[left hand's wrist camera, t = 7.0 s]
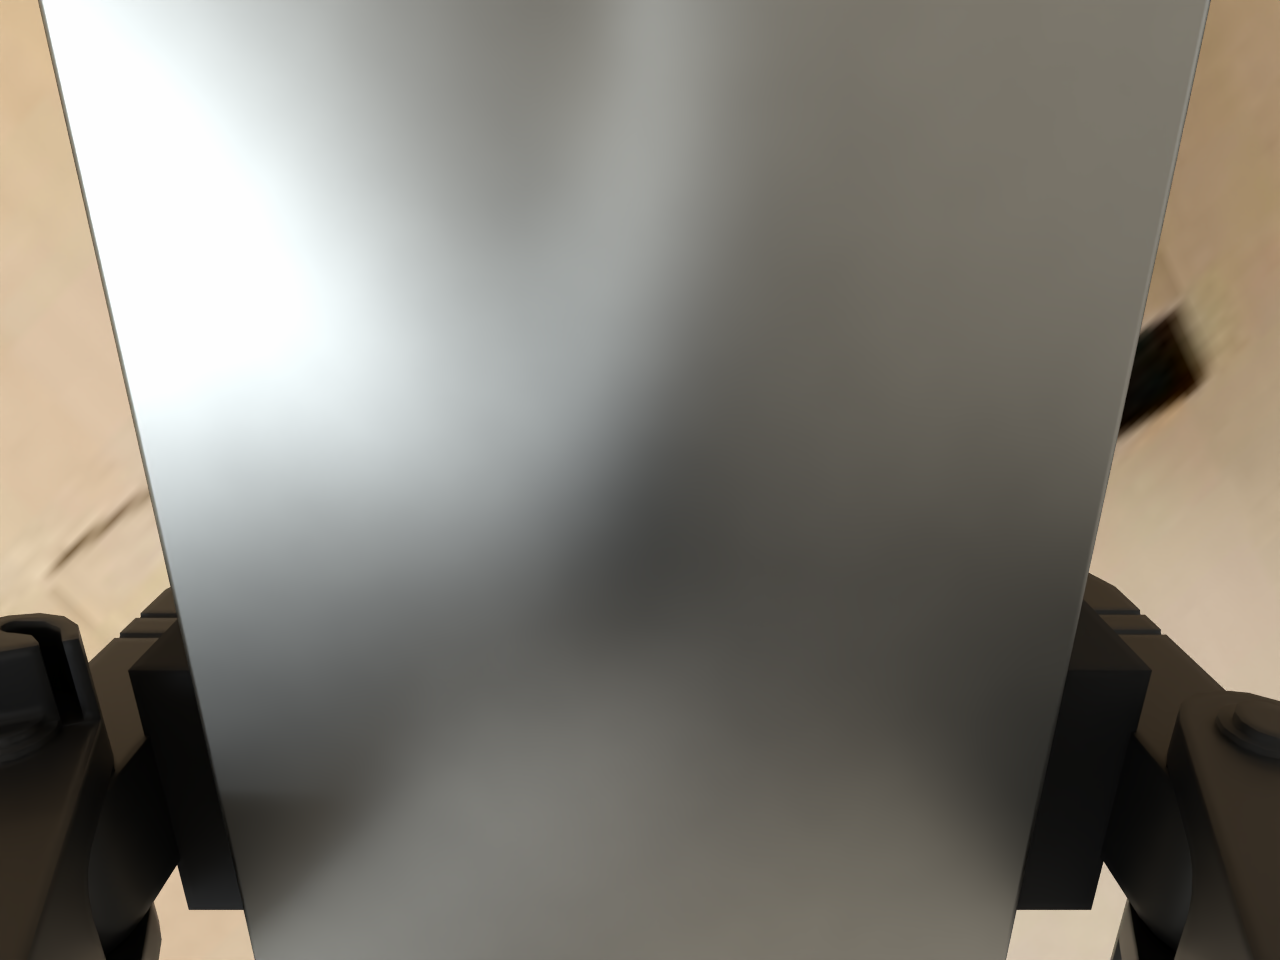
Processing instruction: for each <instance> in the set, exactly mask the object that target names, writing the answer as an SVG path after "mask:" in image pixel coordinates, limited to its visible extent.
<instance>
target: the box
mask: <svg viewBox="0 0 1280 960" xmlns="http://www.w3.org/2000/svg"><path fill="white" fill-rule="evenodd" d="M1210 1H1211V0H38V2H39V7H40V11H41V16H42V20H43V24H44V29H45V33H46V38H47V42H48V47H49V51H50V55H51V60H52V64H53V69H54V73H55V78H56V82H57V86H58V91H59V95H60V100H61V104H62V108H63V113H64V117H65V122H66V126H67V131H68V135H69V139H70V144H71V148H72V153H73V157H74V162H75V166H76V170H77V175H78V179H79V184H80V188H81V193H82V197H83V201H84V206H85V210H86V215H87V219H88V223H89V228H90V232H91V237H92V241H93V246H94V250H95V254H96V259H97V263H98V268H99V272H100V277H101V281H102V285H103V290H104V294H105V299H106V303H107V308H108V312H109V316H110V321H111V325H112V330H113V334H114V338H115V343H116V347H117V352H118V356H119V361H120V365H121V369H122V374H123V378H124V383H125V387H126V392H127V396H128V400H129V405H130V409H131V414H132V418H133V423H134V427H135V431H136V436H137V440H138V445H139V449H140V453H141V458H142V462H143V467H144V471H145V476H146V480H147V484H148V489H149V493H150V498H151V502H152V507H153V511H154V515H155V520H156V524H157V529H158V533H159V538H160V542H161V546H162V551H163V555H164V560H165V564H166V569H167V573H168V577H169V582H170V586H171V591H172V595H173V599H174V604H175V608H176V613H177V617H178V622H179V626H180V630H181V635H182V639H183V644H184V648H185V653H186V657H187V661H188V666H189V670H190V675H191V679H192V684H193V688H194V692H195V697H196V701H197V706H198V710H199V714H200V719H201V723H202V728H203V732H204V737H205V741H206V745H207V750H208V754H209V759H210V763H211V768H212V772H213V776H214V781H215V785H216V790H217V794H218V799H219V803H220V807H221V812H222V816H223V821H224V825H225V829H226V834H227V838H228V843H229V847H230V852H231V856H232V860H233V865H234V869H235V874H236V878H237V883H238V887H239V891H240V896H241V900H242V905H243V909H244V914H245V918H246V922H247V927H248V931H249V936H250V940H251V944H252V949H253V953H254V958H255V960H1006V957H1007V952H1008V947H1009V943H1010V938H1011V933H1012V929H1013V924H1014V919H1015V915H1016V910H1017V905H1018V901H1019V896H1020V891H1021V886H1022V882H1023V877H1024V872H1025V868H1026V863H1027V858H1028V854H1029V849H1030V844H1031V840H1032V835H1033V830H1034V826H1035V821H1036V816H1037V812H1038V807H1039V802H1040V798H1041V793H1042V788H1043V783H1044V779H1045V774H1046V769H1047V765H1048V760H1049V755H1050V751H1051V746H1052V741H1053V737H1054V732H1055V727H1056V723H1057V718H1058V713H1059V709H1060V704H1061V699H1062V694H1063V690H1064V685H1065V680H1066V676H1067V671H1068V666H1069V662H1070V657H1071V652H1072V648H1073V643H1074V638H1075V634H1076V629H1077V624H1078V620H1079V615H1080V610H1081V605H1082V601H1083V596H1084V591H1085V587H1086V582H1087V577H1088V573H1089V568H1090V563H1091V559H1092V554H1093V549H1094V545H1095V540H1096V535H1097V531H1098V526H1099V521H1100V516H1101V512H1102V507H1103V502H1104V498H1105V493H1106V488H1107V484H1108V479H1109V474H1110V470H1111V465H1112V460H1113V456H1114V451H1115V446H1116V442H1117V437H1118V432H1119V427H1120V423H1121V418H1122V413H1123V409H1124V404H1125V399H1126V395H1127V390H1128V385H1129V381H1130V376H1131V371H1132V367H1133V362H1134V357H1135V353H1136V348H1137V343H1138V338H1139V334H1140V329H1141V324H1142V320H1143V315H1144V310H1145V306H1146V301H1147V296H1148V292H1149V287H1150V282H1151V278H1152V273H1153V268H1154V264H1155V259H1156V254H1157V250H1158V245H1159V240H1160V235H1161V231H1162V226H1163V221H1164V217H1165V212H1166V207H1167V203H1168V198H1169V193H1170V189H1171V184H1172V179H1173V175H1174V170H1175V165H1176V161H1177V156H1178V151H1179V146H1180V142H1181V137H1182V132H1183V128H1184V123H1185V118H1186V114H1187V109H1188V104H1189V100H1190V95H1191V90H1192V86H1193V81H1194V76H1195V72H1196V67H1197V62H1198V57H1199V53H1200V48H1201V43H1202V39H1203V34H1204V29H1205V25H1206V20H1207V15H1208V11H1209V6H1210Z"/></svg>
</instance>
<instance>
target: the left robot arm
mask: <svg viewBox="0 0 1280 960" xmlns="http://www.w3.org/2000/svg"><path fill="white" fill-rule="evenodd" d="M1103 861H1104V862H1105V864H1106V866H1107V867H1108V869H1109V870H1110V872H1111V873H1112V875H1113V876H1114V878H1115V880H1116V881H1117V883H1118V884H1119V886H1120V887H1121V889H1122V890H1123V892H1124V894H1125V895H1126V897H1127V901H1126V905H1125V909H1124V912H1123V916H1122V920H1121V923H1120V927H1119V931H1118V934H1117V938H1116V942H1115V945H1114V949H1113V953H1112V956H1111V960H1280V701H1277V700H1273V699H1270V698H1266V697H1262V696H1258V695H1255V694H1251V693H1245V692H1235V691H1225V690H1224V689H1223V688H1222V687H1221V686H1220V685H1219V684H1218V683H1217V682H1216V681H1215V680H1214V679H1213V678H1212V677H1211V676H1210V675H1208V674H1207V673H1206V672H1205V671H1204V670H1203V669H1202V668H1201V667H1200V666H1199V665H1198V664H1197V663H1196V662H1195V661H1194V660H1193V659H1191V658H1190V657H1189V656H1188V655H1187V654H1186V653H1185V652H1184V651H1183V650H1182V649H1181V648H1180V647H1179V646H1178V645H1177V644H1176V643H1174V642H1173V641H1172V640H1171V639H1170V638H1169V637H1168V636H1167V635H1161V629H1160V628H1159V627H1157V626H1156V625H1155V624H1154V623H1153V622H1152V621H1151V620H1150V619H1149V618H1148V617H1147V616H1146V615H1140V610H1139V609H1138V608H1137V607H1136V606H1135V605H1134V604H1133V603H1132V602H1131V601H1130V600H1129V599H1128V598H1127V597H1126V596H1125V595H1123V594H1122V593H1121V592H1120V591H1119V590H1118V589H1117V588H1116V587H1115V586H1113V585H1111V584H1109V583H1107V582H1105V581H1103V580H1101V579H1100V578H1098V577H1096V576H1094V575H1092V574H1090V573H1088V577H1087V582H1086V587H1085V591H1084V596H1083V601H1082V605H1081V610H1080V615H1079V620H1078V624H1077V629H1076V634H1075V638H1074V643H1073V648H1072V652H1071V657H1070V662H1069V666H1068V671H1067V676H1066V680H1065V685H1064V690H1063V694H1062V699H1061V704H1060V709H1059V713H1058V718H1057V723H1056V727H1055V732H1054V737H1053V741H1052V746H1051V751H1050V755H1049V760H1048V765H1047V769H1046V774H1045V779H1044V783H1043V788H1042V793H1041V798H1040V802H1039V807H1038V812H1037V816H1036V821H1035V826H1034V830H1033V835H1032V840H1031V844H1030V849H1029V854H1028V858H1027V863H1026V868H1025V872H1024V877H1023V882H1022V886H1021V891H1020V896H1019V901H1018V905H1017V910H1091V908H1092V904H1093V900H1094V896H1095V893H1096V889H1097V885H1098V881H1099V877H1100V873H1101V869H1102V865H1103ZM177 865H178V869H179V873H180V877H181V881H182V885H183V889H184V893H185V897H186V900H187V904H188V908H189V910H244V909H243V905H242V900H241V896H240V891H239V887H238V883H237V878H236V874H235V869H234V865H233V860H232V856H231V852H230V847H229V843H228V838H227V834H226V829H225V825H224V821H223V816H222V812H221V807H220V803H219V799H218V794H217V790H216V785H215V781H214V776H213V772H212V768H211V763H210V759H209V754H208V750H207V745H206V741H205V737H204V732H203V728H202V723H201V719H200V714H199V710H198V706H197V701H196V697H195V692H194V688H193V684H192V679H191V675H190V670H189V666H188V661H187V657H186V653H185V648H184V644H183V639H182V635H181V630H180V626H179V622H178V617H177V613H176V608H175V604H174V599H173V595H172V591H171V587H170V588H168V589H166V590H165V591H164V592H163V593H162V594H161V595H159V596H158V597H157V598H156V599H155V600H154V601H153V602H152V603H151V604H150V605H149V606H148V607H147V608H146V609H145V610H144V611H143V612H142V613H141V617H140V618H135V619H134V620H133V621H132V622H131V623H130V624H129V625H128V626H127V627H126V628H125V629H124V630H123V631H122V632H120V638H114V639H113V640H112V641H111V642H110V643H109V644H108V645H107V646H106V647H105V648H104V649H103V650H102V651H100V652H99V653H98V654H97V655H96V656H95V657H94V658H93V659H92V660H91V661H90V662H89V663H88V660H87V656H86V653H85V649H84V645H83V642H82V638H81V634H80V631H79V627H78V625H77V624H75V623H74V622H72V621H71V620H69V619H68V618H66V617H64V616H58V615H50V614H43V613H35V614H23V615H10V616H5V617H0V960H159V953H160V947H161V940H162V939H161V932H160V925H159V920H158V916H157V912H156V909H155V905H154V900H155V898H156V897H157V895H158V894H159V892H160V891H161V889H162V887H163V886H164V884H165V883H166V881H167V880H168V878H169V877H170V875H171V873H172V872H173V870H174V869H175V867H176V866H177Z"/></svg>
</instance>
